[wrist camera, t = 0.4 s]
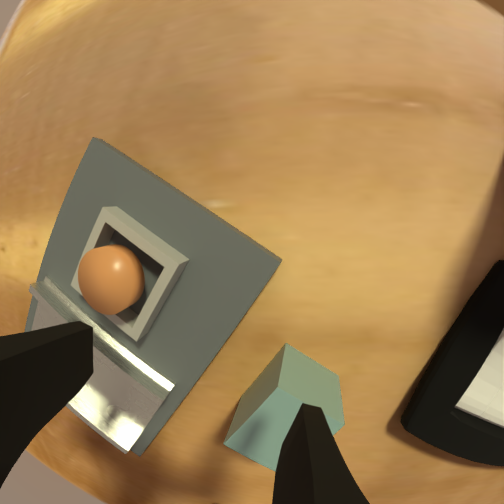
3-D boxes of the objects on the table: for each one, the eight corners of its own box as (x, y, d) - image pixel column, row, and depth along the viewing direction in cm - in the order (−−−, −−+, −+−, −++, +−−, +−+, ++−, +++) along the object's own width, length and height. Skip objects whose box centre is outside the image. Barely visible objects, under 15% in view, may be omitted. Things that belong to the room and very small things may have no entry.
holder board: (144, 449, 22) (139, 456, 21) (27, 348, 23) (20, 352, 22) (282, 259, 17) (280, 262, 17) (101, 139, 18) (92, 137, 17)
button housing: (147, 332, 19) (136, 341, 17) (84, 279, 19) (70, 284, 17) (189, 259, 17) (179, 264, 16) (116, 206, 18) (102, 207, 16)
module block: (290, 424, 19) (284, 475, 14) (241, 395, 19) (223, 444, 14) (338, 375, 18) (344, 424, 13) (286, 342, 18) (277, 386, 13)
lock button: (129, 319, 17) (115, 328, 15) (85, 282, 17) (70, 288, 16) (155, 269, 16) (141, 274, 15) (107, 231, 16) (91, 234, 15)
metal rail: (134, 443, 21) (124, 456, 19) (29, 350, 21) (15, 357, 20) (176, 382, 19) (165, 397, 17) (48, 275, 20) (31, 280, 18)
